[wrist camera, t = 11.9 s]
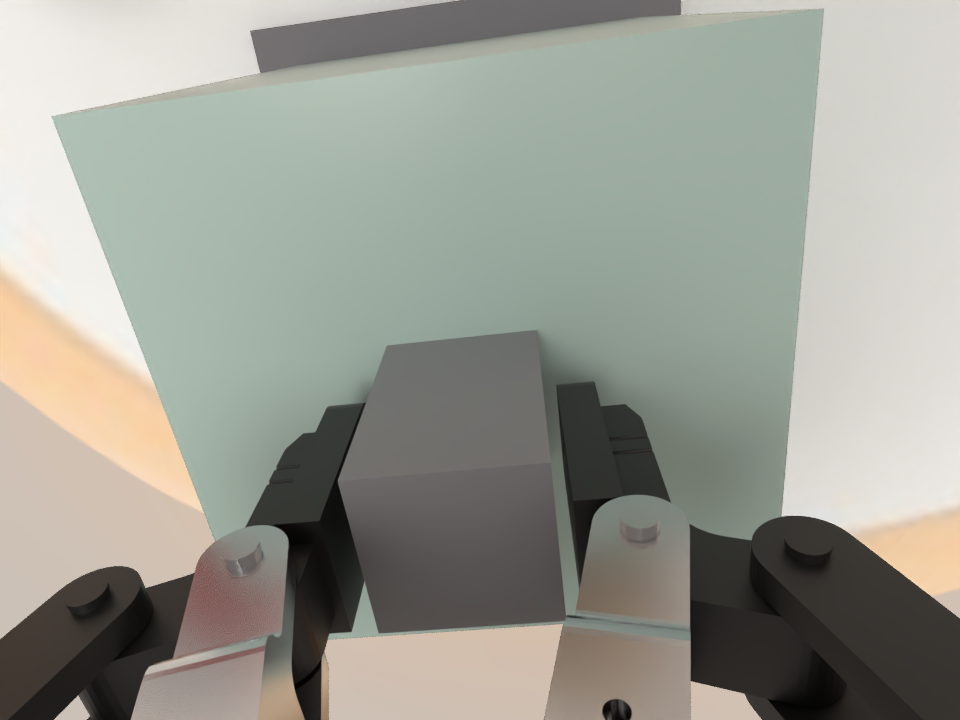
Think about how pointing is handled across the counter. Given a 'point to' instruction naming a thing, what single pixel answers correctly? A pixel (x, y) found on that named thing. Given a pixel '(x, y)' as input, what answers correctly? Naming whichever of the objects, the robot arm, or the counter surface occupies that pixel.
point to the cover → (473, 284)
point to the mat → (436, 27)
